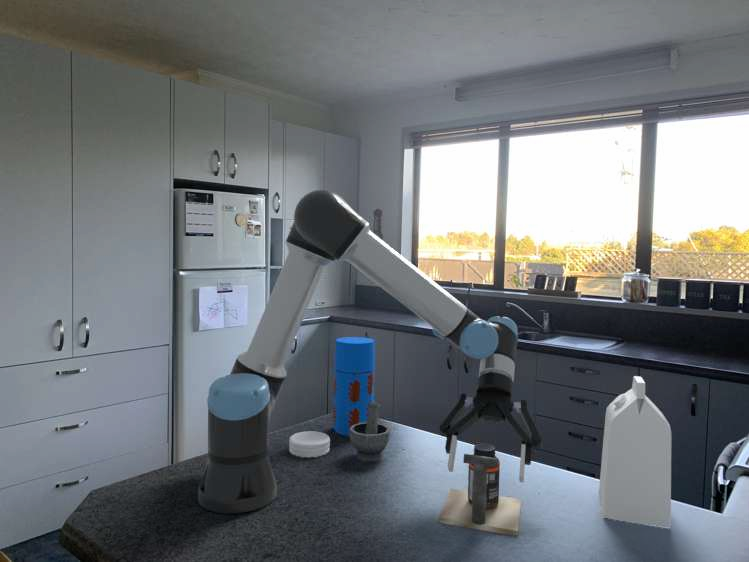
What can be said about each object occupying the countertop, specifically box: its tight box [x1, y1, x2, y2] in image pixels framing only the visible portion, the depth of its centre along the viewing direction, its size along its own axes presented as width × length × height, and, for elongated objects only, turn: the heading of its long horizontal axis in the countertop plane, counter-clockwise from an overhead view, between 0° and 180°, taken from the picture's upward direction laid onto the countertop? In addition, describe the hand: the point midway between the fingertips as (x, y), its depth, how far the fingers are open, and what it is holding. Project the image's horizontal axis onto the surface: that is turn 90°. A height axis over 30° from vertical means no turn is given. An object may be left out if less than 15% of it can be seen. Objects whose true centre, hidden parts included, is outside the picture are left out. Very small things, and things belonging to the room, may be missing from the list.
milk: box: [598, 375, 672, 528], centre depth 107 cm, size 12×12×26 cm
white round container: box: [288, 430, 331, 459], centre depth 135 cm, size 10×10×4 cm
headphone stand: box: [438, 453, 522, 537], centre depth 104 cm, size 14×13×13 cm
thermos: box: [333, 336, 376, 437], centre depth 150 cm, size 11×11×25 cm
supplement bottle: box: [467, 442, 501, 509], centre depth 106 cm, size 6×6×11 cm
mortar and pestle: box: [349, 402, 391, 463], centre depth 132 cm, size 11×9×12 cm
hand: (485, 474), depth 106 cm, fingers open, 13 cm apart
